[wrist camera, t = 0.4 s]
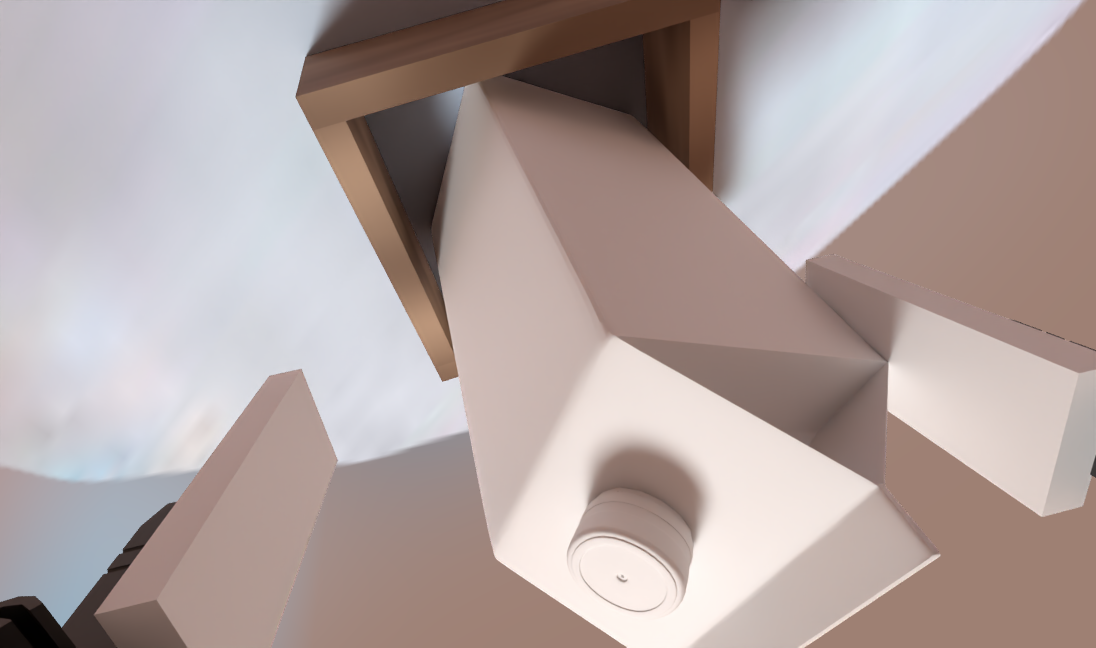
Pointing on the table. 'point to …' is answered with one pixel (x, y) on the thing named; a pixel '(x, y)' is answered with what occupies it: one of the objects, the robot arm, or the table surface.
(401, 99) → the walnut holder
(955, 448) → the robot arm
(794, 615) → the milk carton
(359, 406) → the table surface
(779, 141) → the table surface
